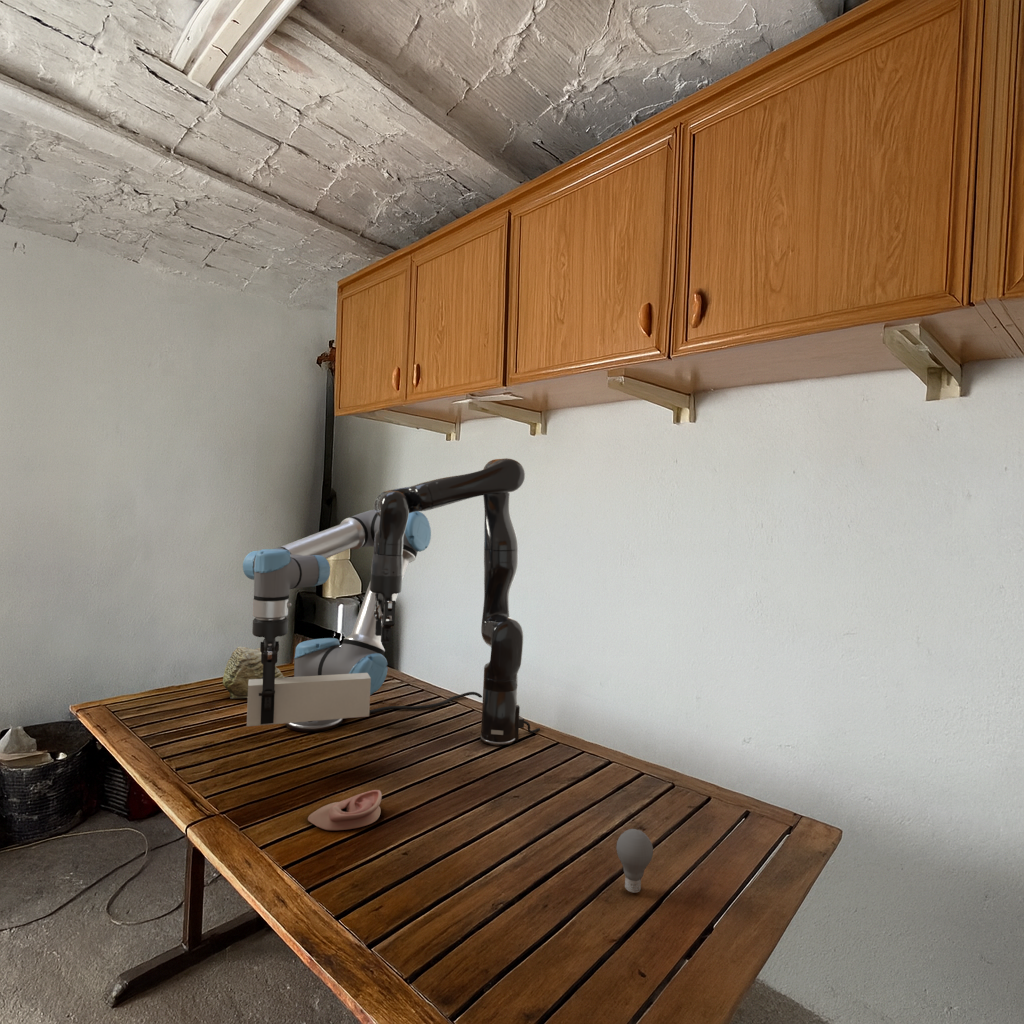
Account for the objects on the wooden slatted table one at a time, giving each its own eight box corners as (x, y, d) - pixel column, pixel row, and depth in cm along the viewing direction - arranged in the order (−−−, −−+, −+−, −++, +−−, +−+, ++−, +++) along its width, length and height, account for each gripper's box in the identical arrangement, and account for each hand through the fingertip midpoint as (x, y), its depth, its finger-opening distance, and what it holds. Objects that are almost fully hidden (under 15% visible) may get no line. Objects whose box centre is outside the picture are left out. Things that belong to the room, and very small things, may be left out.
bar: (246, 726, 141) (248, 685, 140) (247, 719, 145) (248, 679, 145) (369, 716, 150) (370, 678, 150) (366, 709, 155) (367, 672, 155)
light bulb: (610, 879, 108) (613, 822, 108) (644, 879, 109) (647, 822, 109) (619, 902, 102) (622, 840, 102) (655, 901, 103) (658, 840, 103)
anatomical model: (300, 805, 121) (329, 780, 132) (299, 826, 121) (328, 798, 133) (364, 815, 119) (388, 788, 130) (363, 836, 119) (387, 807, 130)
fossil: (218, 695, 195) (220, 647, 195) (278, 685, 208) (279, 640, 207) (228, 703, 189) (230, 653, 188) (289, 692, 201) (290, 645, 201)
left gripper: (289, 624, 137) (285, 731, 137) (286, 610, 154) (283, 705, 154) (252, 625, 134) (248, 734, 135) (253, 610, 151) (250, 707, 152)
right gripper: (408, 576, 149) (403, 645, 149) (396, 569, 162) (392, 632, 162) (376, 576, 146) (371, 646, 146) (366, 569, 159) (362, 633, 159)
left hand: (266, 718), depth 145 cm, fingers closed on bar, 5 cm apart
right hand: (382, 639), depth 154 cm, fingers open, 8 cm apart
